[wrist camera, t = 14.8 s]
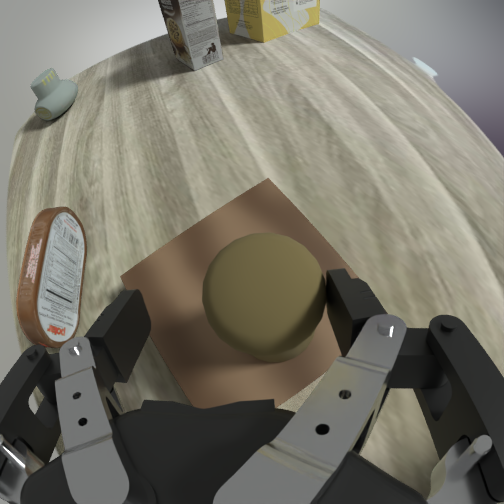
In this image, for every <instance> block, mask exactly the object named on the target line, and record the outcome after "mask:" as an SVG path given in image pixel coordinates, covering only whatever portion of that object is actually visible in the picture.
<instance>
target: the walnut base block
mask: <svg viewBox="0 0 504 504" xmlns="http://www.w3.org/2000/svg"><path fill="white" fill-rule="evenodd" d="M268 232H271V233H275V234H279V235H284V236H288V237H290V238H292V239H293V240H295V241H297V242H298V243H300V244H302V245H304V246H305V247H306V248H307V250H308V251H309V252H310V253H311V254H312V255H313V256H314V257H315V259H316V260H317V262H318V264H319V266H320V268H321V270H322V273H323V275H324V277H325V280H326V272H327V270H332V269H340V268H345V269H346V271H347V272H348V274H349V275H350V277H351V279H354V278H359V277H358V276H357V275H356V274H355V273H354V272H353V270H352V269H351V268H350V267H349V266H348V264H347V263H346V262H345V261H344V260H343V259H342V257H341V256H340V255H339V254H338V253H337V252H336V251H335V249H334V248H333V247H332V246H331V245H330V244H329V243H328V242H327V240H326V239H325V238H324V237H323V236H322V235H321V234H320V233H319V231H318V230H317V229H316V228H315V227H314V226H313V225H312V224H311V223H310V222H309V220H308V219H307V218H306V217H305V216H304V215H303V214H302V213H301V212H300V211H299V210H298V209H297V207H296V206H295V205H294V204H293V203H292V202H291V201H290V200H289V199H288V198H287V197H286V196H285V195H284V194H283V193H282V192H281V191H280V190H279V189H278V187H277V186H276V185H275V184H274V183H273V182H272V181H271V180H270V179H269V178H267V179H266V180H264V181H262V182H261V183H259V184H257V185H256V186H254V187H253V188H251V189H249V190H248V191H246V192H245V193H243V194H241V195H240V196H238V197H237V198H235V199H233V200H232V201H230V202H229V203H227V204H225V205H224V206H222V207H221V208H219V209H218V210H216V211H215V212H213V213H211V214H210V215H208V216H207V217H205V218H204V219H202V220H201V221H199V222H198V223H196V224H195V225H193V226H192V227H190V228H189V229H187V230H186V231H184V232H183V233H181V234H180V235H178V236H177V237H175V238H174V239H172V240H171V241H170V242H168V243H167V244H165V245H164V246H162V247H161V248H159V249H158V250H157V251H155V252H154V253H152V254H151V255H149V256H148V257H147V258H145V259H144V260H142V261H141V262H140V263H138V264H137V265H135V266H134V267H133V268H131V269H130V270H128V271H127V272H126V273H124V274H123V275H122V276H120V277H121V279H122V281H123V283H124V285H125V288H126V290H133V289H139V290H140V291H141V293H142V296H143V299H144V302H145V305H146V308H147V311H148V314H149V316H150V320H151V331H150V334H149V335H150V337H151V338H152V340H153V342H154V344H155V346H156V347H157V349H158V351H159V353H160V354H161V356H162V358H163V359H164V361H165V363H166V365H167V366H168V368H169V369H170V371H171V373H172V374H173V376H174V378H175V379H176V381H177V382H178V384H179V386H180V387H181V389H182V390H183V392H184V393H185V395H186V396H187V398H188V399H189V401H190V402H191V404H192V405H193V407H197V408H202V409H206V408H211V407H216V406H221V405H225V404H230V403H234V402H238V401H251V400H265V399H274V402H275V408H276V407H278V406H279V405H281V404H282V403H284V402H285V401H287V400H288V399H290V398H291V397H292V396H294V395H295V394H297V393H298V392H300V391H301V390H302V389H304V388H305V387H306V386H308V385H309V384H310V383H312V382H313V381H315V380H316V379H317V378H318V377H320V376H321V375H322V374H324V373H325V372H326V371H328V369H329V368H330V366H331V365H332V363H333V362H334V361H335V359H336V358H337V357H338V356H342V355H341V352H340V349H339V346H338V343H337V340H336V337H335V335H334V332H333V329H332V326H331V324H330V321H329V318H328V314H327V308H326V305H325V309H324V313H323V317H322V319H321V321H320V323H319V324H318V326H317V327H316V330H315V333H314V337H313V339H312V341H311V342H310V344H309V345H308V347H307V348H306V350H304V351H303V352H302V353H301V354H299V355H298V356H297V357H295V358H293V359H290V360H287V361H285V362H271V363H270V362H266V361H263V360H259V359H257V358H255V357H254V356H252V355H250V354H247V353H244V352H241V351H238V350H235V349H234V348H232V347H231V346H229V345H228V344H227V343H225V342H224V341H223V340H221V339H220V338H219V337H218V336H217V334H216V333H215V331H214V330H213V328H212V327H211V326H210V324H209V323H208V320H207V317H206V313H205V310H204V306H203V303H202V289H203V280H204V278H205V275H206V272H207V269H208V267H209V265H210V263H211V262H212V261H213V259H214V258H215V257H216V255H217V254H218V253H219V251H220V250H222V249H223V248H224V247H226V246H227V245H228V244H230V243H231V242H232V241H234V240H236V239H238V238H241V237H244V236H247V235H249V234H253V233H268ZM385 311H386V310H385ZM387 314H388V313H387Z"/></svg>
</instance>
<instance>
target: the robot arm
mask: <svg viewBox="0 0 504 504" xmlns="http://www.w3.org/2000/svg"><path fill="white" fill-rule="evenodd" d="M326 292H327V301H326V308H327V314H328V318H329V321H330V324H331V326H332V329H333V332H334V335H335V337H336V340H337V343H338V346H339V349H340V352H341V355H342V356H338V357H337V358H336V359H335V361H334V362H333V363H332V365H331V366H330V368H329V369H328V371H327V372H326V374H325V375H324V376H323V378H322V379H321V381H320V382H319V383H318V385H317V386H316V388H315V389H314V390H313V392H312V393H311V394H310V396H309V397H308V398H307V400H306V401H305V402H304V404H303V405H302V406H301V407H300V409H299V410H298V411H297V413H295V412H292V411H289V410H284V409H277V408H275V402H274V399H265V400H251V401H238V402H234V403H230V404H225V405H221V406H216V407H211V408H206V409H202V408H197V407H193V406H189V405H184V404H180V403H177V402H173V401H154V400H144V401H143V404H142V406H141V409H137V410H133V411H129V412H125V410H124V407H123V405H122V403H121V400H120V398H119V395H118V393H117V390H116V389H115V387H114V383H115V382H122V383H127V381H128V379H129V376H130V374H131V372H132V370H133V368H134V365H135V363H136V361H137V359H138V357H139V355H140V352H141V350H142V348H143V346H144V344H145V342H146V340H147V338H148V336H149V334H150V331H151V320H150V316H149V314H148V311H147V308H146V305H145V302H144V299H143V296H142V293H141V291H140V290H139V289H133V290H123V291H122V292H121V293H120V294H119V295H118V297H117V298H116V299H115V301H114V302H113V303H111V304H110V305H109V306H107V307H106V308H105V309H104V311H103V312H102V313H101V316H99V317H98V318H97V321H95V322H94V324H93V325H92V326H91V328H90V329H89V331H88V332H87V333H86V335H85V336H84V337H76V338H73V339H70V340H69V341H67V342H66V343H65V344H64V345H63V346H62V347H61V349H60V351H59V353H55V354H48V352H47V350H46V349H45V347H44V346H43V345H34V346H31V347H29V348H28V349H27V350H25V351H24V352H23V353H22V355H21V356H20V357H19V359H18V360H17V362H16V363H15V364H14V366H13V367H12V368H11V370H10V371H9V373H8V374H7V375H6V377H5V378H4V380H3V381H2V383H1V384H0V498H1V499H3V500H5V501H7V502H8V503H10V504H504V378H503V376H502V374H501V373H500V371H499V370H498V369H497V367H496V366H495V364H494V363H493V361H492V360H491V358H490V357H489V356H488V354H487V353H486V351H485V350H484V349H483V347H482V346H481V345H480V343H479V342H478V341H477V339H476V338H475V337H474V335H473V334H472V333H471V331H470V330H469V329H468V327H467V326H466V325H465V324H464V323H463V321H461V320H460V319H458V318H457V317H454V316H451V315H439V316H436V317H434V318H433V319H432V320H431V321H430V324H429V328H407V327H406V324H405V322H404V321H403V320H402V319H400V318H399V317H397V316H394V315H390V314H387V312H386V311H385V309H384V308H383V306H382V305H381V303H380V302H379V300H378V299H377V297H375V294H374V293H373V291H372V290H371V289H370V287H369V286H368V284H367V283H366V282H364V281H362V280H361V279H359V278H354V279H351V277H350V275H349V274H348V272H347V271H346V269H345V268H340V269H332V270H327V272H326ZM36 386H37V387H38V389H39V390H40V391H41V393H42V394H43V396H44V399H43V401H42V403H41V404H40V406H39V408H38V410H37V412H36V414H34V413H33V412H32V411H31V409H30V408H29V404H28V401H29V397H30V395H31V394H32V392H33V390H34V389H35V387H36ZM391 388H413V390H414V392H415V395H416V397H417V399H418V402H419V404H420V407H421V409H422V412H423V415H424V417H425V420H426V422H427V425H428V428H429V430H430V433H431V436H432V439H433V442H434V444H435V447H436V450H437V453H438V456H439V459H440V461H439V463H438V464H437V465H436V466H435V467H434V469H433V471H432V473H431V478H430V482H431V491H430V494H429V497H428V499H427V500H426V499H425V498H424V497H423V496H422V495H421V494H420V493H418V492H417V491H415V490H414V489H412V488H410V487H409V486H407V485H405V484H404V483H402V482H400V481H399V480H397V479H395V478H394V477H392V476H391V475H389V474H388V473H386V472H384V471H383V470H381V469H380V468H378V467H377V466H375V465H374V464H372V463H371V462H369V461H368V460H366V459H365V458H363V457H362V456H360V454H361V452H362V450H363V448H364V446H365V444H366V442H367V440H368V438H369V436H370V434H371V431H372V429H373V427H374V425H375V423H376V421H377V419H378V417H379V414H380V412H381V410H382V408H383V406H384V404H385V401H386V399H387V397H388V395H389V392H390V390H391ZM61 431H62V437H63V442H64V446H65V451H64V452H63V453H62V455H60V456H58V457H57V458H55V459H54V460H52V461H51V462H49V461H50V458H51V456H52V453H53V451H54V448H55V446H56V443H57V441H58V438H59V436H60V434H61Z"/></svg>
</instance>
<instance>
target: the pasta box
mask: <svg viewBox="0 0 504 504" xmlns="http://www.w3.org/2000/svg"><path fill="white" fill-rule="evenodd" d="M225 6H226V12H227V18H228V24H229V30H230V33H232V34H236V35H240V36H243V37H247V38H250V39H254V40H257V41H260V42H263V43H265V42H267V41H270V40H272V39H275V38H278V37H280V36H283V35H286V34H289V33H292V32H294V31H297V30H300V29H304V28H307V27H310V26H313V25H317V24H319V11H320V0H225Z"/></svg>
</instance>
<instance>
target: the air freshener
mask: <svg viewBox="0 0 504 504" xmlns="http://www.w3.org/2000/svg"><path fill="white" fill-rule="evenodd" d="M31 89H32V90H33V92H34V93H35V95H36V96H37V98H38V100H37V102H36V105H35V113H36V115H37V116H38V117H40V118H41V119H44V120H51V119H55V118H57V117H58V116H60V115H61V114H63V113H64V112H65V111H66V110H67V109H68V108H69V107H70V106H71V105H72V103H73V102H74V100H75V98H76V96H77V93H78V86H77V84H76V83H75V82H73V81H71V80H60V79H59V77H58V75H57V74H56V72H55V70H54V69H52V68H50V69H48V70H46V71H44V72H43V73H42V74H40V75H39V76H38V77H37V78H36V79H35V80H34V81H33V82H32V84H31Z"/></svg>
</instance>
